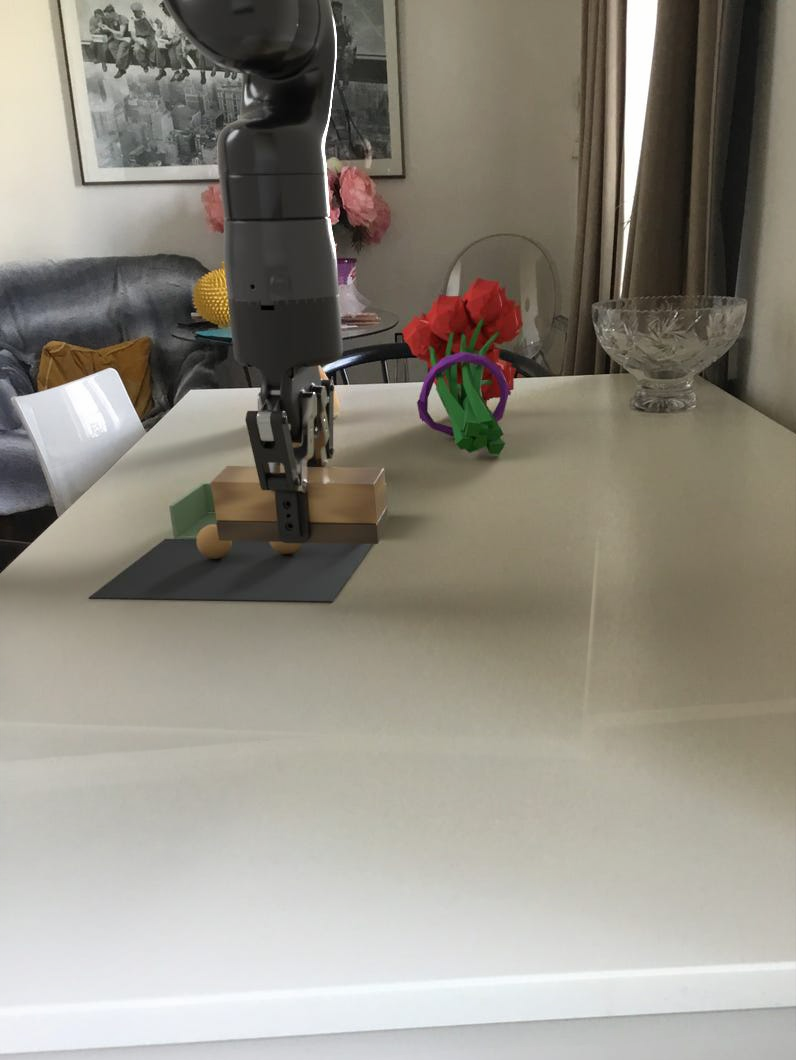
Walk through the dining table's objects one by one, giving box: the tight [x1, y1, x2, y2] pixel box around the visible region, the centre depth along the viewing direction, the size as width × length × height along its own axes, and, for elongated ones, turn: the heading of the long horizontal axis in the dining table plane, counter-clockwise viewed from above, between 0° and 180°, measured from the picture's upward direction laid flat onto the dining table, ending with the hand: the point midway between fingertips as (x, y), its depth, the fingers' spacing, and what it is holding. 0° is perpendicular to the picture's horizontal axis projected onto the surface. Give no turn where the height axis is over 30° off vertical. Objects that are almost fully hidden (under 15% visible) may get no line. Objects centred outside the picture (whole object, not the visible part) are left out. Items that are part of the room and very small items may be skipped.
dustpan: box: [168, 482, 389, 539], centre depth 104 cm, size 16×19×3 cm
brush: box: [210, 465, 390, 545], centre depth 77 cm, size 12×4×4 cm, turn 83°
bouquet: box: [401, 277, 524, 456], centre depth 135 cm, size 20×16×30 cm
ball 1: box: [196, 524, 232, 559], centre depth 92 cm, size 3×3×3 cm
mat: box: [88, 538, 374, 604], centre depth 90 cm, size 20×16×1 cm
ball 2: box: [270, 542, 302, 554], centre depth 92 cm, size 3×3×3 cm
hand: (304, 530), depth 78 cm, fingers closed on brush, 4 cm apart
